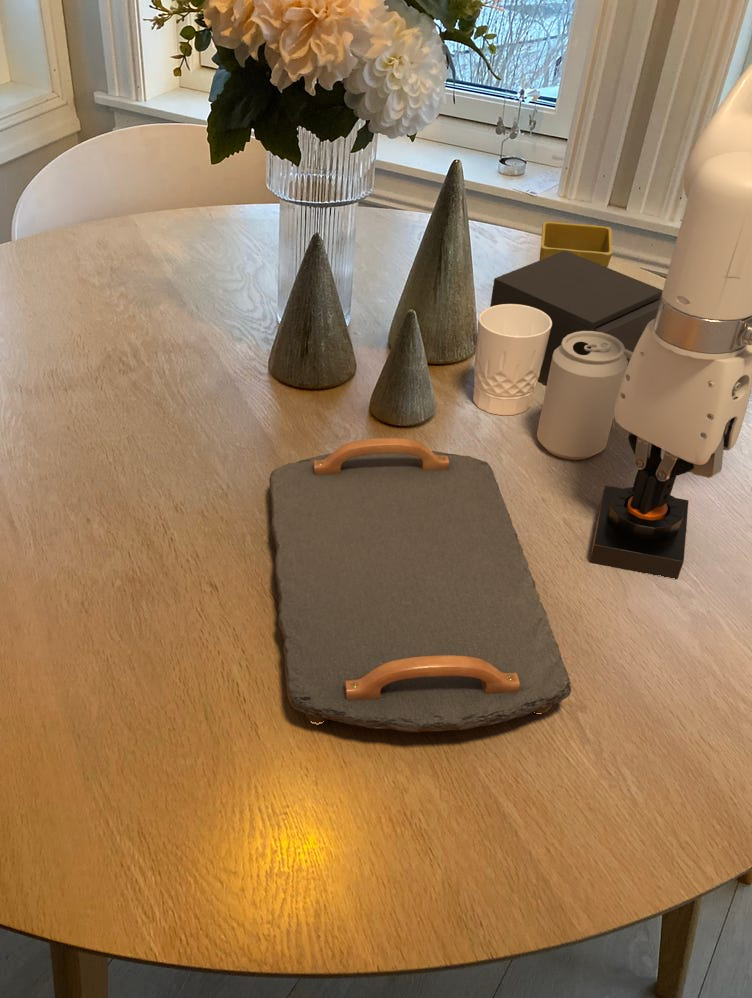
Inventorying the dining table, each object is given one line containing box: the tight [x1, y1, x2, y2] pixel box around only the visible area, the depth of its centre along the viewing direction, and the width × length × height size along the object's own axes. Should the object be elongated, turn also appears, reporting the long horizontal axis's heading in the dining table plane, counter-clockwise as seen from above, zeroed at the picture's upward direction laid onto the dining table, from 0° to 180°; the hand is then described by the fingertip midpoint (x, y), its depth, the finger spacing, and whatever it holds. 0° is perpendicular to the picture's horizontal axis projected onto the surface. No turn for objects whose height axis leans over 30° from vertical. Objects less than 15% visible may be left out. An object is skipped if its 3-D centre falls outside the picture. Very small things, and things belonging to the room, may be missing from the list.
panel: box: [589, 485, 689, 580], centre depth 95 cm, size 10×8×4 cm
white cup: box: [472, 304, 552, 416], centre depth 112 cm, size 8×8×10 cm
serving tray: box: [268, 437, 572, 733], centre depth 89 cm, size 39×23×6 cm, turn 3°
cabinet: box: [489, 251, 663, 386], centre depth 119 cm, size 15×13×10 cm
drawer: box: [595, 300, 660, 369], centre depth 116 cm, size 18×11×8 cm, turn 38°
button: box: [626, 496, 668, 520], centre depth 94 cm, size 4×4×2 cm
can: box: [536, 331, 628, 461], centre depth 104 cm, size 8×8×12 cm
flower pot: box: [538, 221, 613, 268], centre depth 130 cm, size 9×9×9 cm
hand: (647, 504), depth 93 cm, fingers closed
